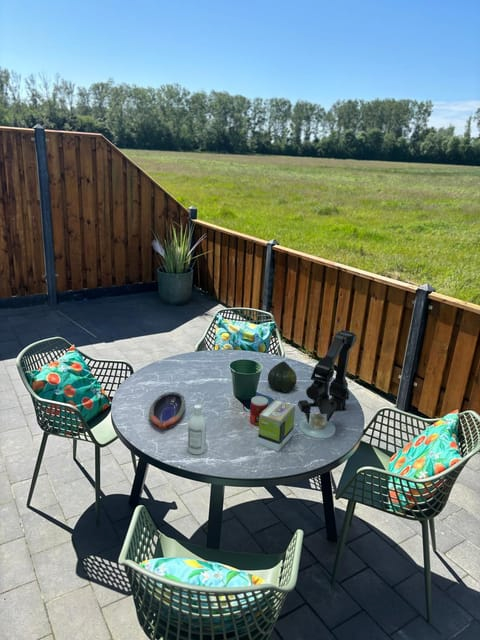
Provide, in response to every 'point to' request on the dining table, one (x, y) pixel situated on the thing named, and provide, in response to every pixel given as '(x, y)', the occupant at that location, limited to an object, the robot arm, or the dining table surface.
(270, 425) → the tea box
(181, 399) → the dish
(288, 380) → the squash
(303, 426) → the ceramic plate
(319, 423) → the beech cube
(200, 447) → the bath foam
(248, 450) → the dining table surface
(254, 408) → the canned food
